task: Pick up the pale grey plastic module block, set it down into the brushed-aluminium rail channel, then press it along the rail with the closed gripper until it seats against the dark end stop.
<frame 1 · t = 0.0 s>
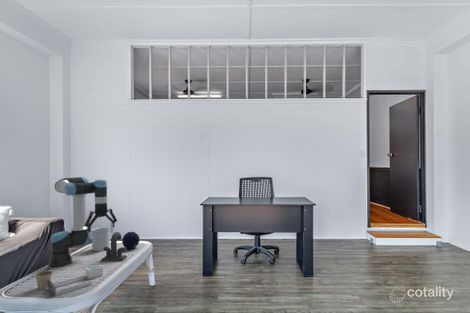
hand: (101, 234, 195), 28 cm above the table, fingers open, 13 cm apart
faucet: (116, 257, 232), on the table
rail: (70, 286, 179), on the table
decorative orb: (131, 248, 256), on the table
flower pot: (44, 287, 179), on the table
module: (94, 276, 196), on the table
utensil holder: (101, 249, 256), on the table
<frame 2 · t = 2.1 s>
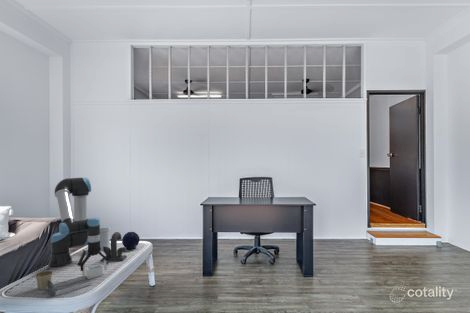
hand: (94, 272, 196), 2 cm above the table, fingers open, 13 cm apart
nothing on the table moved.
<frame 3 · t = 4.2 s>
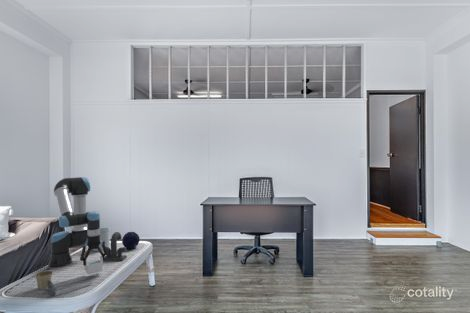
hand: (94, 268, 196), 5 cm above the table, fingers closed on module, 9 cm apart
module: (94, 271, 196), point 3 cm above the table, touching gripper
everything else where it was.
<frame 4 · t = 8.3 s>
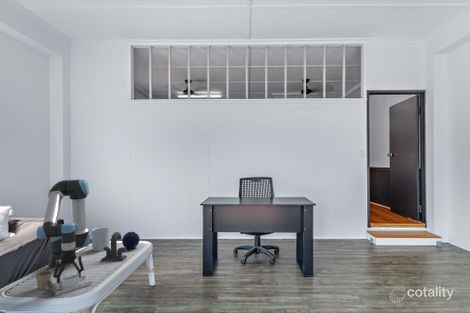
hand: (69, 285, 179), 1 cm above the table, fingers closed on module, 9 cm apart
module: (69, 287, 179), resting in rail, touching gripper
everything else where it was.
when the fingers open (1 cm above the table, at t = 9.3 s): module stays where it is, resting in rail.
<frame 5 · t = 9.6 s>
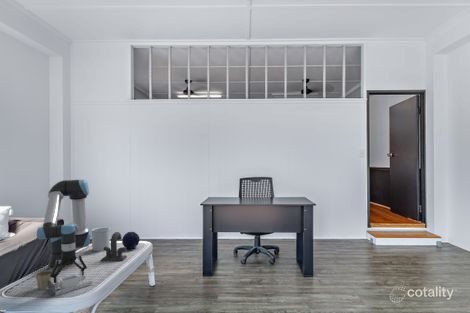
hand: (69, 284, 179), 2 cm above the table, fingers open, 13 cm apart
module: (69, 287, 179), resting in rail
everything else where it was.
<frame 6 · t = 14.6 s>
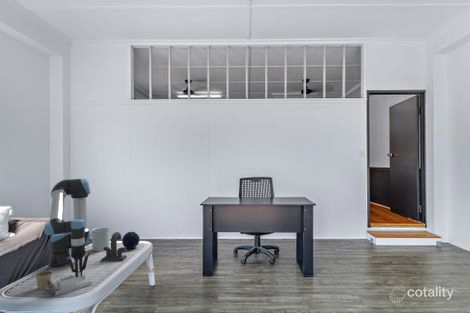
hand: (78, 282, 183), 1 cm above the table, fingers closed
module: (67, 288, 178), resting in rail, touching gripper
everything else where it was.
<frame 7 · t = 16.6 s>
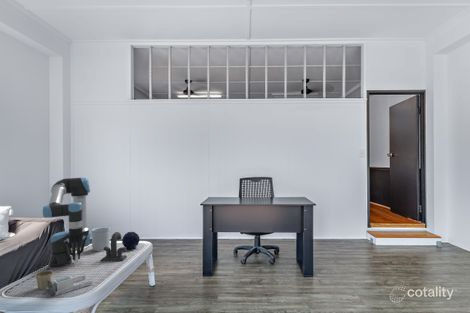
hand: (76, 264, 182), 12 cm above the table, fingers closed
module: (63, 289, 177), resting in rail
everything else where it was.
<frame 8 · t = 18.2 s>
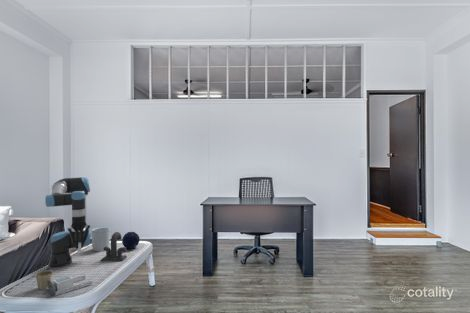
hand: (79, 253, 183), 19 cm above the table, fingers closed
nothing on the table moved.
at the end: module 0.9 cm from the target spot, resting in rail; module tilted 0° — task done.
